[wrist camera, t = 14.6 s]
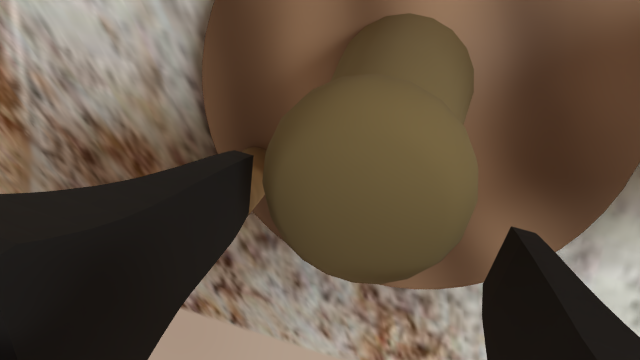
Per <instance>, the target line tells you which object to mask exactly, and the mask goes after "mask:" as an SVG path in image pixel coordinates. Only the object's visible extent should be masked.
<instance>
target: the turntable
mask: <svg viewBox="0 0 640 360" xmlns="http://www.w3.org/2000/svg"><path fill="white" fill-rule="evenodd" d="M406 13H412V14H416V15H421V16H426V17H431V18H434V19H435V20H437V21H439V22H440V23H442V24H443V25H445V26H447V27H448V28H450V29H452V30H453V31H454V33H455V34H456V35H457V36H458V38H459V39H460V40H461V41H462V43H463V44H464V45H465V46H466V48H467V50H468V53H469V56H470V59H471V62H472V65H473V68H474V93H473V96H472V99H471V102H470V106H469V109H468V112H467V115H466V118H465V122H464V127H465V128H466V131H467V134H468V137H469V139H470V142H471V145H472V148H473V151H474V153H475V156H476V159H477V164H478V202H477V204H476V207H475V209H474V211H473V214H472V216H471V218H470V221H469V223H468V225H467V228H466V230H465V232H464V235H463V237H462V239H461V241H460V242H459V243H458V244H457V245H456V246H455V247H454V248H453V249H452V250H451V251H450V252H449V253H448V254H447V255H446V257H445V258H444V259H443V260H442V261H441V262H439V263H437V264H435V265H434V266H432V267H430V268H428V269H426V270H424V271H422V272H420V273H418V274H417V275H415V276H413V277H411V278H409V279H406V280H401V281H395V282H390V283H385V284H379V285H384V286H390V287H398V288H408V289H444V288H454V287H463V286H468V285H473V284H478V283H483V282H484V281H485V279H486V277H487V275H488V273H489V271H490V268H491V266H492V264H493V262H494V260H495V258H496V256H497V254H498V252H499V250H500V248H501V246H502V244H503V242H504V240H505V238H506V236H507V234H508V232H509V229H510V227H511V226H512V227H516V228H520V229H523V230H527V231H531V232H534V233H536V234H537V235H539V236H540V237H541V238H542V239H543V240H544V241H545V242H546V243H547V244H548V245H549V246H550V247H551V248H552V250H553V251H554V252H556V251H558V250H560V249H561V248H563V247H564V246H565V245H567V244H568V243H569V242H571V241H572V240H573V239H575V238H576V237H577V236H579V235H580V234H581V233H583V232H584V231H585V230H586V229H587V228H588V227H589V226H590V225H591V224H592V223H593V222H594V221H595V220H596V219H597V218H598V217H600V216H601V215H602V214H603V213H604V212H605V211H606V209H607V208H608V207H609V206H610V204H611V203H612V202H613V201H614V199H615V198H616V197H617V196H618V194H619V193H620V192H621V191H622V190H623V188H624V187H625V185H626V184H627V182H628V180H629V179H630V177H631V175H632V174H633V172H634V170H635V169H636V167H637V165H638V164H639V162H640V0H215V2H214V4H213V7H212V11H211V15H210V19H209V23H208V27H207V31H206V35H205V43H204V51H203V59H202V88H203V96H204V105H205V112H206V116H207V121H208V125H209V129H210V133H211V136H212V139H213V142H214V145H215V147H216V150H217V153H218V154H220V153H224V152H227V151H232V150H236V151H239V152H243V153H247V154H250V155H254V157H253V169H252V182H251V194H250V206H249V214H250V213H251V212H252V211H253V212H254V213H255V214H256V215H257V216H258V217H259V219H260V220H261V221H262V222H263V223H264V224H265V225H266V226H267V227H268V228H269V229H270V230H271V231H273V232H274V233H275V234H276V235H277V236H279V237H280V238H281V239H282V240H283V238H282V236H281V234H280V233H279V231H278V229H277V227H276V226H275V224H274V222H273V220H272V219H271V216H270V213H269V210H268V206H267V201H266V197H265V192H264V188H263V184H262V180H263V171H264V161H265V154H266V151H267V148H268V145H269V143H270V141H271V138H272V136H273V134H274V132H275V130H276V128H277V126H278V124H279V122H280V120H281V118H282V117H283V116H284V115H285V114H286V113H287V112H288V111H289V110H290V109H291V108H293V107H294V106H295V105H296V104H297V103H298V102H299V101H300V100H301V99H302V98H303V97H304V96H305V95H306V94H308V93H309V92H310V91H311V90H313V89H315V88H317V87H319V86H322V85H324V84H326V83H329V82H330V81H331V79H332V77H333V74H334V72H335V70H336V67H337V65H338V63H339V60H340V59H341V57H342V55H343V53H344V51H345V49H346V47H347V45H348V44H349V42H350V41H351V40H352V39H353V38H354V37H355V36H356V35H357V34H358V33H359V32H360V31H361V30H362V29H363V28H364V27H365V26H367V25H369V24H371V23H373V22H375V21H377V20H379V19H381V18H383V17H385V16H391V15H399V14H406ZM249 214H248V215H249ZM283 241H284V240H283Z"/></svg>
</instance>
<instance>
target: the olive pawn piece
mask: <svg viewBox="0 0 640 360" xmlns="http://www.w3.org/2000/svg"><path fill="white" fill-rule="evenodd" d="M473 93H474V68H473V65H472V62H471V59H470V56H469V53H468V50H467V48H466V46H465V45H464V44H463V43H462V41H461V40H460V39H459V38H458V36H457V35H456V34H455V33H454V31H453V30H452V29H450V28H448V27H447V26H445V25H443V24H442V23H440V22H439V21H437V20H435V19H434V18H431V17H426V16H421V15H416V14H412V13H406V14H399V15H391V16H385V17H383V18H381V19H379V20H377V21H375V22H373V23H371V24H369V25H367V26H365V27H364V28H363V29H362V30H361V31H360V32H359V33H358V34H357V35H356V36H355V37H354V38H353V39H352V40H351V41H350V42H349V44H348V45H347V47H346V49H345V51H344V53H343V55H342V57H341V59H340V60H339V63H338V65H337V67H336V70H335V72H334V74H333V77H332V79H331V81H330V82H329V83H326V84H324V85H322V86H319V87H317V88H315V89H313V90H311V91H310V92H309V93H308V94H306V95H305V96H304V97H303V98H302V99H301V100H300V101H299V102H298V103H297V104H296V105H295V106H294V107H293V108H291V109H290V110H289V111H288V112H287V113H286V114H285V115H284V116H283V117H282V118H281V120H280V122H279V124H278V126H277V128H276V130H275V132H274V134H273V136H272V138H271V141H270V143H269V145H268V148H267V151H266V154H265V161H264V171H263V180H262V184H263V188H264V192H265V197H266V201H267V206H268V210H269V213H270V216H271V219H272V220H273V222H274V224H275V226H276V227H277V229H278V231H279V233H280V234H281V236H282V238H283V240H284V241H285V242H286V243H287V244H288V245H289V246H290V247H291V248H292V249H293V250H294V251H295V252H296V253H297V254H298V255H299V256H300V257H301V258H302V259H303V260H304V261H306V262H307V263H309V264H311V265H312V266H314V267H316V268H317V269H319V270H321V271H322V272H324V273H326V274H328V275H331V276H334V277H337V278H341V279H344V280H347V281H350V282H354V283H368V284H385V283H390V282H395V281H401V280H406V279H409V278H411V277H413V276H415V275H417V274H418V273H420V272H422V271H424V270H426V269H428V268H430V267H432V266H434V265H435V264H437V263H439V262H441V261H442V260H443V259H444V258H445V257H446V255H447V254H448V253H449V252H450V251H451V250H452V249H453V248H454V247H455V246H456V245H457V244H458V243H459V242H460V241H461V239H462V237H463V235H464V232H465V230H466V228H467V225H468V223H469V221H470V218H471V216H472V214H473V211H474V209H475V207H476V204H477V202H478V164H477V159H476V156H475V153H474V151H473V148H472V145H471V142H470V139H469V137H468V134H467V131H466V128H465V127H464V122H465V118H466V115H467V112H468V109H469V106H470V102H471V99H472V96H473Z"/></svg>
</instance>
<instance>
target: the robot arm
mask: <svg viewBox="0 0 640 360" xmlns="http://www.w3.org/2000/svg"><path fill="white" fill-rule="evenodd" d="M253 157H254V155H250V154H247V153H243V152H239V151H236V150H232V151H227V152H224V153H220V154H217V155H213V156H210V157H207V158H204V159H201V160H198V161H195V162H191V163H188V164H185V165H182V166H179V167H176V168H172V169H168V170H165V171H161V172H157V173H154V174H150V175H147V176H143V177H139V178H135V179H130V180H125V181H120V182H115V183H110V184H104V185H98V186H92V187H83V188H75V189H67V190H59V191H49V192H35V193H17V194H0V360H148V358H149V356H150V355H151V353H152V351H153V350H154V348H155V347H156V345H157V343H158V342H159V340H160V338H161V337H162V335H163V334H164V332H165V330H166V329H167V327H168V326H169V324H170V322H171V321H172V320H173V318H174V316H175V315H176V313H177V312H178V310H179V309H180V307H181V306H182V304H183V303H184V302H185V300H186V299H187V298H188V296H189V295H190V294H191V292H192V291H193V290H194V289H195V287H196V286H197V285H198V284H199V282H200V281H201V280H202V279H203V278H204V276H205V275H206V274H207V273H208V271H209V270H210V269H211V268H212V266H213V265H214V264H215V263H216V261H217V260H218V259H219V258H220V256H221V255H222V254H223V253H224V251H225V250H226V249H227V248H228V246H229V245H230V244H231V242H232V241H233V240H234V238H235V237H236V235H237V233H238V232H239V230H240V228H241V227H242V225H243V223H244V221H245V220H246V218H247V216H248V214H249V206H250V194H251V182H252V169H253ZM482 320H483V329H484V337H485V345H486V353H487V360H640V337H639V336H638V335H636V334H635V333H634V332H633V331H632V330H631V329H630V328H629V327H628V326H626V325H625V324H624V323H623V322H622V321H621V320H620V319H619V318H618V317H617V316H616V315H615V314H614V313H613V312H612V311H611V310H610V309H609V308H608V307H607V306H606V305H605V304H604V303H603V302H602V301H601V300H600V299H599V298H598V297H597V296H596V295H595V294H594V293H593V292H592V291H591V290H590V289H589V288H588V287H587V286H586V285H585V284H584V283H583V282H582V281H581V280H580V279H579V278H578V277H577V276H576V274H575V273H574V272H573V271H572V270H571V269H570V268H569V267H568V266H567V265H566V264H565V263H564V261H563V260H562V259H561V258H560V257H559V256H558V255H557V254H556V253H555V252H554V251H553V250H552V248H551V247H550V246H549V245H548V244H547V243H546V242H545V241H544V240H543V239H542V238H541V237H540V236H539V235H537V234H536V233H534V232H531V231H527V230H523V229H520V228H516V227H512V226H511V227H510V229H509V232H508V234H507V236H506V238H505V240H504V242H503V244H502V246H501V248H500V250H499V252H498V254H497V256H496V258H495V260H494V262H493V264H492V266H491V268H490V271H489V273H488V275H487V277H486V279H485V281H484V283H483V298H482Z"/></svg>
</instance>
